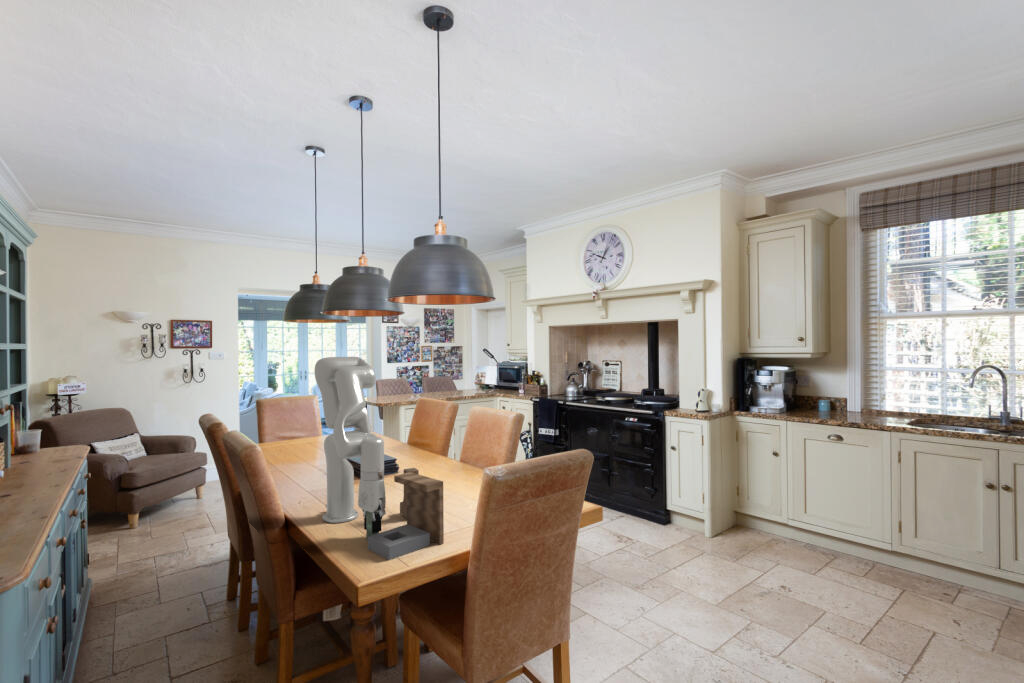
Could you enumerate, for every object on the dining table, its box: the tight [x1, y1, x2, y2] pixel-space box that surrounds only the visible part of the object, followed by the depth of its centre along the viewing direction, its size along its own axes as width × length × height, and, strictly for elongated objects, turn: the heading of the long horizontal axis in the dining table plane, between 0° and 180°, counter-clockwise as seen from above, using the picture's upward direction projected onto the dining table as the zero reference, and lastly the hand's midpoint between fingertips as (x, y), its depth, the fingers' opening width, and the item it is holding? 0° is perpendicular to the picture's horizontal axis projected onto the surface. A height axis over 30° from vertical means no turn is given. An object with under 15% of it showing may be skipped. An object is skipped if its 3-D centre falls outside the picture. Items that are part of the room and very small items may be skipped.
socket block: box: [367, 523, 431, 561], centre depth 161 cm, size 12×15×4 cm
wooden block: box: [399, 467, 420, 520], centre depth 190 cm, size 9×4×18 cm, turn 31°
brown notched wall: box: [393, 472, 445, 545], centre depth 168 cm, size 18×6×20 cm, turn 47°
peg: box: [365, 509, 380, 541], centre depth 169 cm, size 4×4×10 cm
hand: (372, 529), depth 169 cm, fingers closed on peg, 4 cm apart
